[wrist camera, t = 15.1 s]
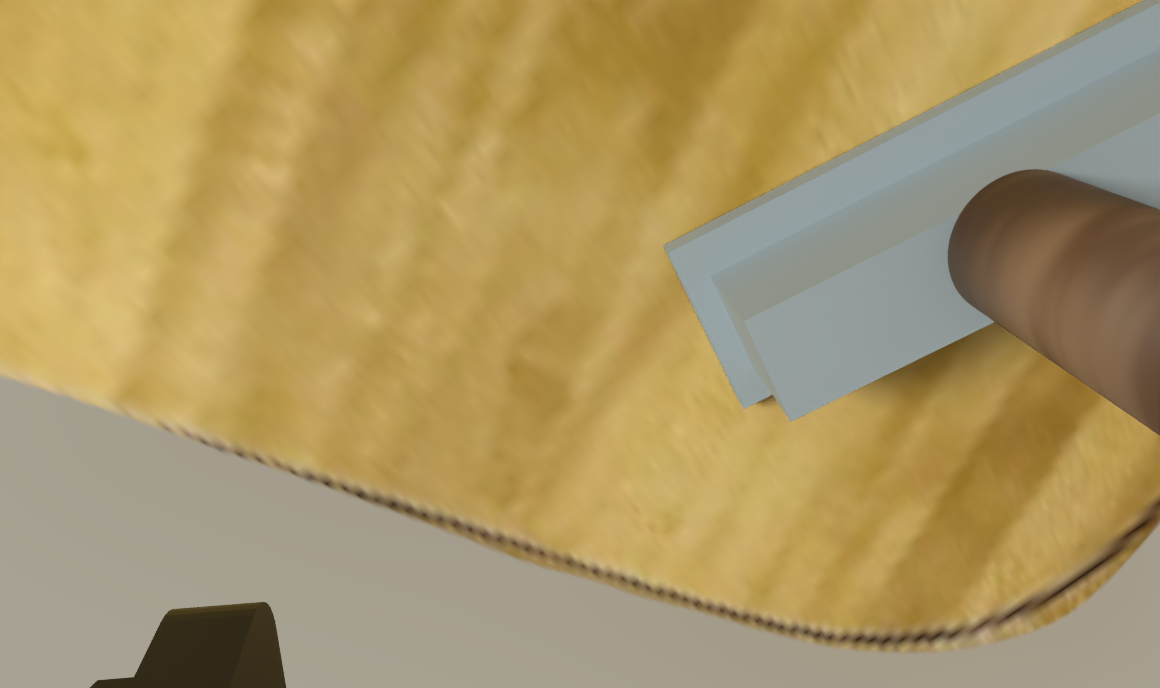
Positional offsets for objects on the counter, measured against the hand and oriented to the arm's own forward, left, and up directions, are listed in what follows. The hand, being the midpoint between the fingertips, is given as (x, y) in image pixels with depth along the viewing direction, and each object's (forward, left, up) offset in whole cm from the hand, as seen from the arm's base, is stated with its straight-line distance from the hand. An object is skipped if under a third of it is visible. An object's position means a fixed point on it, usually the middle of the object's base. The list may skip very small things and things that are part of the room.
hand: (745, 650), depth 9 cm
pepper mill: (-12, +9, -22) cm, 27 cm away
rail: (-12, +9, -28) cm, 32 cm away
